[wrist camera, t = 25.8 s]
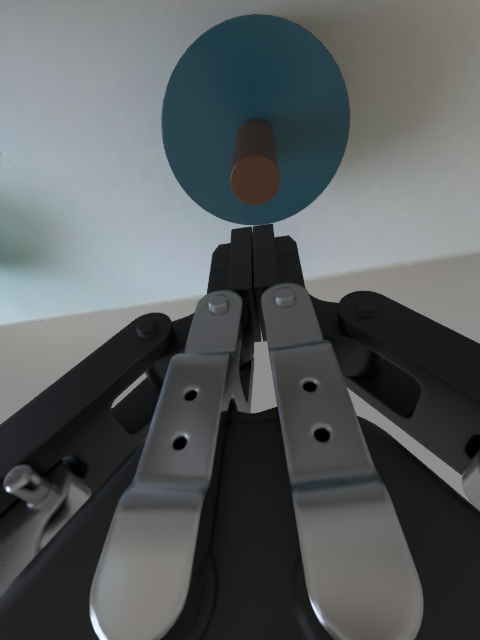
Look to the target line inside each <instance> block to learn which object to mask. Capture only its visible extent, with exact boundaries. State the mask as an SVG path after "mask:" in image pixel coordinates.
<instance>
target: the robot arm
mask: <svg viewBox="0 0 480 640" xmlns="http://www.w3.org/2000/svg"><path fill="white" fill-rule="evenodd" d="M211 263H212V264H211V268H210V270H211V271H210V275H209V282H208V289H207V295H205V296H204V297H203V298H201V300H200V301H199V302H198V304H197V306H196V310H195V313H193V314H191V315H189V316H187V317H184V318H182V319H179V320H175V321H173V322H171V320H170V318H169V317H168V316H167V315H165V314H163V313H149V314H145V315H143V316H140V317H138V318H137V319H135V320H134V321H132V322H131V323H130V324H129V325H127V326H126V327H125V328H124V329H122V330H121V331H120V332H119V333H117V334H116V335H115V336H113V337H112V338H111V339H109V340H108V341H107V342H106V343H105V344H103V345H102V346H101V347H99V348H98V349H97V350H95V351H94V352H93V353H92V354H90V355H89V356H88V357H86V358H85V359H84V360H83V361H81V362H80V363H79V364H78V365H76V366H75V367H74V368H73V369H71V370H70V371H69V372H67V373H66V374H65V375H63V376H62V377H61V378H60V379H58V380H57V381H56V382H55V383H53V384H52V385H51V386H49V387H48V388H47V389H46V390H44V391H43V392H42V393H40V394H39V395H38V396H37V397H35V398H34V399H33V400H32V401H30V402H29V403H28V404H26V405H25V406H24V407H23V408H21V409H20V410H19V411H17V412H16V413H15V414H14V415H12V416H11V417H10V418H9V419H7V420H6V421H5V422H3V423H2V424H1V425H0V640H480V344H479V343H477V342H475V341H473V340H471V339H469V338H467V337H465V336H463V335H461V334H459V333H457V332H455V331H453V330H451V329H449V328H447V327H445V326H443V325H441V324H439V323H437V322H435V321H433V320H431V319H429V318H427V317H425V316H423V315H421V314H419V313H417V312H415V311H413V310H411V309H409V308H407V307H405V306H403V305H401V304H399V303H397V302H395V301H393V300H391V299H389V298H387V297H385V296H383V295H381V294H379V293H376V292H371V291H356V292H352V293H350V294H347V295H346V296H344V297H343V298H342V299H341V300H340V303H334V302H326V301H322V300H319V299H317V298H315V297H313V296H311V295H310V294H309V293H308V291H307V290H306V288H305V285H304V279H303V274H302V269H301V264H300V260H299V254H298V249H297V244H296V242H295V241H294V240H293V239H292V238H291V237H290V236H281V237H274V230H273V224H267V225H259V226H253V231H252V227H245V228H238V229H232V231H231V243H229V244H221V245H219V246H218V247H217V248H216V250H215V251H214V252H213V254H212V261H211ZM261 332H262V337H263V341H267V343H268V349H269V356H270V363H271V369H272V375H273V382H274V388H275V394H276V401H277V407H275V408H272V409H268V410H266V411H262V412H259V413H251V397H252V385H253V384H252V383H253V371H254V357H253V354H254V342H261ZM144 372H145V374H146V375H147V378H146V379H145V380H143V381H142V382H141V383H140V384H139V385H138V386H137V387H136V388H135V389H133V390H132V391H131V392H130V393H129V394H128V395H127V396H126V397H125V398H124V399H123V400H121V401H120V402H119V403H118V404H117V405H116V406H115V407H114V408H112V409H111V406H112V403H113V402H114V400H115V399H116V398H117V397H118V396H119V395H120V394H121V393H122V392H123V391H124V390H125V389H127V388H128V387H129V386H130V385H131V384H132V383H133V382H134V381H136V380H137V378H139V377H140V376H141V375H142V374H143V373H144ZM347 387H348V388H349V389H350V390H351V391H353V392H354V393H355V394H357V395H358V396H359V397H361V398H362V399H363V400H364V401H366V402H367V403H368V404H370V405H371V406H372V407H374V408H375V409H377V411H379V412H380V413H381V414H383V415H384V416H385V417H387V418H388V419H389V420H391V421H392V422H393V423H395V424H396V425H397V426H398V427H400V428H401V429H402V430H404V431H405V432H406V433H407V434H409V435H410V436H411V437H413V438H414V439H415V440H417V441H418V442H419V443H420V444H422V445H423V446H424V447H426V448H427V449H428V450H430V451H431V452H432V453H433V454H435V455H436V456H437V457H439V458H440V459H441V460H443V461H444V462H445V463H447V464H448V465H449V466H450V467H452V468H453V469H454V470H456V471H457V472H458V473H459V474H461V475H462V485H463V488H464V491H465V494H466V496H467V497H468V499H469V501H470V502H471V503H472V504H471V503H469V502H468V501H467V500H466V499H465V498H464V497H462V496H461V495H460V494H459V493H457V492H456V491H455V490H454V489H453V488H452V487H450V486H449V485H448V484H447V483H446V482H445V481H444V480H442V479H441V478H440V477H439V476H438V475H436V474H435V473H434V472H433V471H432V470H431V469H429V468H428V467H427V466H426V465H425V464H423V463H422V462H421V461H420V460H419V459H418V458H416V457H415V456H414V455H413V454H412V453H410V452H409V451H408V450H407V449H406V448H405V447H404V446H402V445H401V444H400V443H399V442H398V441H396V440H395V439H394V438H393V437H392V436H391V435H389V434H388V433H387V432H386V431H384V430H383V429H381V428H380V427H378V426H377V425H375V424H373V423H371V422H369V421H368V420H366V419H364V418H361V417H359V416H357V415H356V412H355V410H354V407H353V404H352V401H351V398H350V396H349V392H348V390H347Z"/></svg>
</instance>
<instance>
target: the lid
mask: <svg viewBox="0 0 480 640" xmlns="http://www.w3.org/2000/svg"><path fill="white" fill-rule="evenodd" d="M349 126H350V108H349V100H348V94H347V90H346V86H345V82H344V79H343V77H342V74H341V72H340V70H339V67H338V65H337V64H336V62H335V60H334V59H333V57H332V55H331V54H330V52H329V51H328V50H327V49H326V47H325V46H324V45H323V44H322V43H321V42H320V41H319V40H318V39H317V38H316V37H315V36H314V35H313V34H312V33H311V32H309V31H307V30H306V29H304V28H303V27H301V26H300V25H298V24H296V23H294V22H291V21H289V20H287V19H284V18H281V17H276V16H272V15H262V14H252V15H244V16H238V17H235V18H232V19H229V20H226V21H224V22H222V23H220V24H218V25H216V26H214V27H212V28H211V29H209V30H208V31H206V32H205V33H204V34H202V35H201V36H200V37H199V38H198V39H197V40H196V41H195V42H194V43H193V44H192V45H191V46H190V47H189V48H188V49H187V50H186V52H185V53H184V54H183V56H182V57H181V58H180V60H179V61H178V63H177V65H176V67H175V69H174V71H173V72H172V75H171V77H170V80H169V82H168V85H167V88H166V92H165V96H164V100H163V107H162V137H163V144H164V148H165V153H166V156H167V159H168V162H169V165H170V167H171V169H172V171H173V173H174V175H175V177H176V179H177V181H178V182H179V184H180V185H181V187H182V188H183V189H184V191H185V192H186V193H187V194H188V195H189V197H190V198H191V199H192V200H194V201H195V202H196V203H197V204H198V205H199V206H200V207H202V208H203V209H204V210H206V211H207V212H209V213H211V214H213V215H214V216H216V217H219V218H221V219H223V220H226V221H229V222H233V223H237V224H243V225H263V224H269V223H274V222H277V221H281V220H284V219H286V218H288V217H290V216H293V215H295V214H296V213H298V212H300V211H301V210H303V209H304V208H306V207H307V206H308V205H310V204H311V203H312V202H313V201H314V200H315V199H316V198H317V197H318V196H319V195H320V194H321V193H322V192H323V191H324V189H325V188H326V187H327V186H328V184H329V183H330V181H331V180H332V178H333V177H334V175H335V173H336V171H337V169H338V167H339V165H340V163H341V160H342V158H343V155H344V152H345V149H346V144H347V140H348V134H349Z"/></svg>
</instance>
